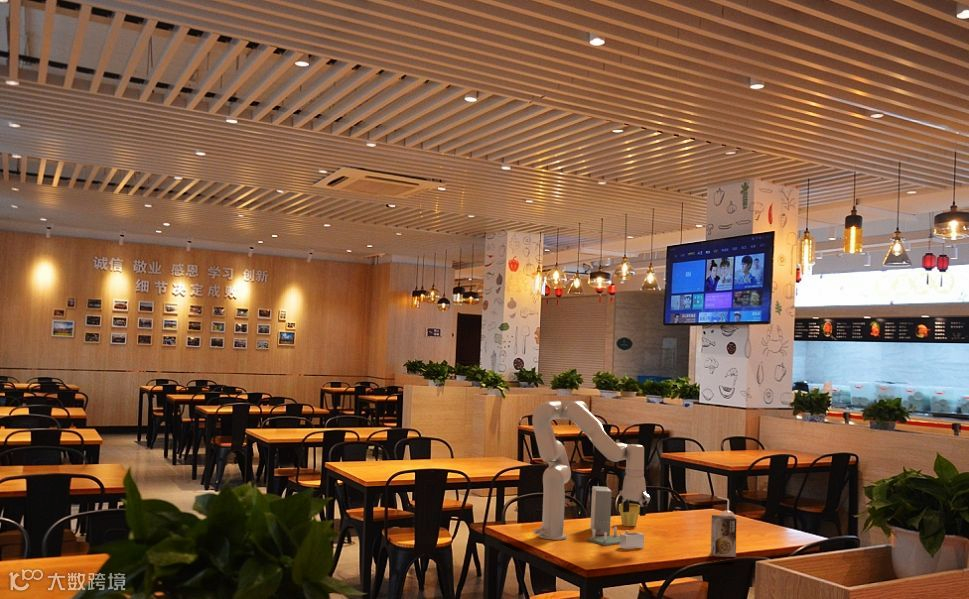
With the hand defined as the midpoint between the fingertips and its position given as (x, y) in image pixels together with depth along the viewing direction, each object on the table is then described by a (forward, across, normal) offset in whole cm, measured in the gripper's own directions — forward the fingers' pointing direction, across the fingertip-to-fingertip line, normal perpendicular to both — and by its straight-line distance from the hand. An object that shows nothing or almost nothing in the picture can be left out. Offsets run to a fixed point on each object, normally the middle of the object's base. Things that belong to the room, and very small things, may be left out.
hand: (634, 513), depth 367 cm
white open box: (+15, -1, 0) cm, 15 cm away
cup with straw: (+16, +7, +52) cm, 55 cm away
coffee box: (+16, +25, +28) cm, 40 cm away
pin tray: (+14, -14, 0) cm, 20 cm away
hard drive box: (+14, -31, +10) cm, 35 cm away
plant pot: (+14, -37, +34) cm, 52 cm away
